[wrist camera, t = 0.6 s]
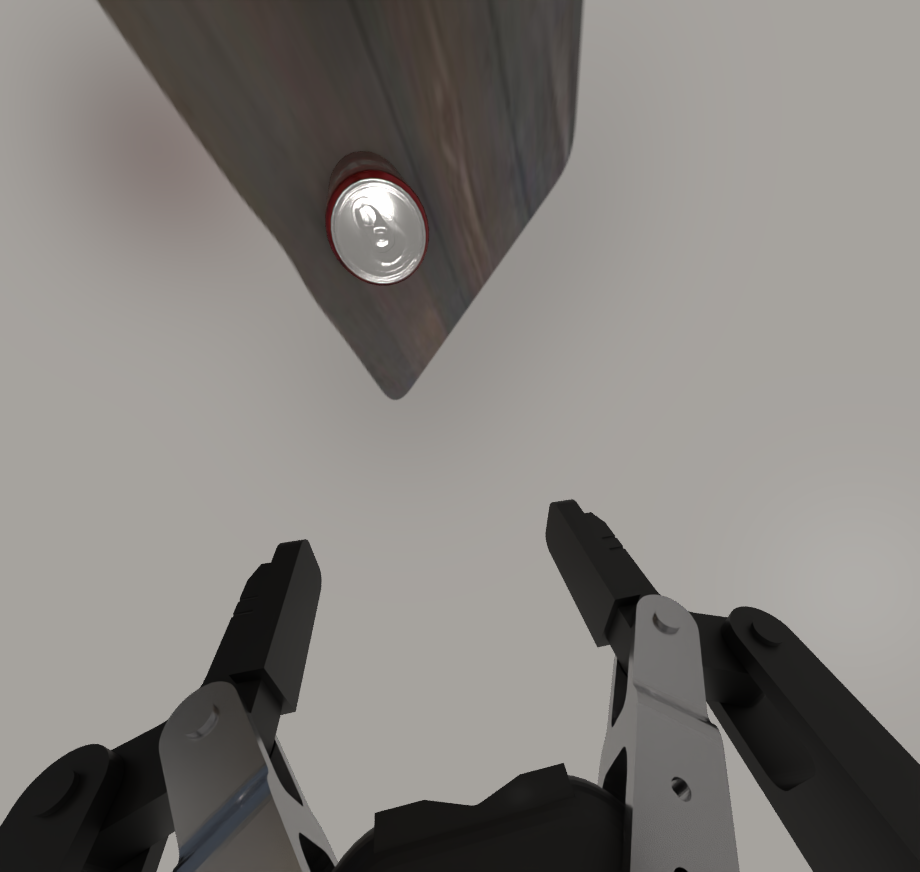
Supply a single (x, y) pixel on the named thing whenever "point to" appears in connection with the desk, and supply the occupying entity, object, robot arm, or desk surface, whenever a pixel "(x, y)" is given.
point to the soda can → (375, 220)
